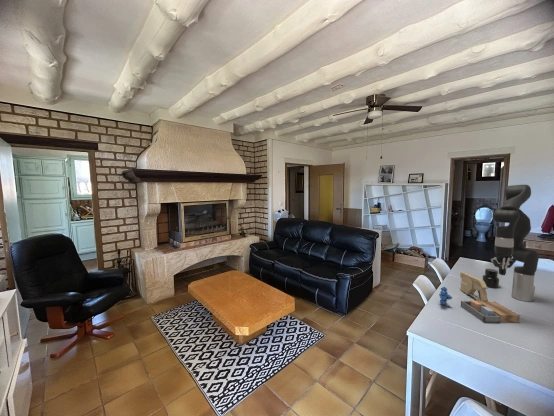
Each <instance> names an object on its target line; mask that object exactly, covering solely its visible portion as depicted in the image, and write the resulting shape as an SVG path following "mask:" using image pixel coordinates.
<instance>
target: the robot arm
mask: <svg viewBox="0 0 554 416" xmlns="http://www.w3.org/2000/svg"><path fill="white" fill-rule="evenodd" d="M504 196H505V200H506V201H505V202H504V203H503V204H502V206H500V207H498V208H496V209H495V210H494V212H493V213H492V219H493V221H495V222H497V223H506V224H508V225H504V226H502V225H501V226H497V227H496V230H495V239H494V253H495V254H494V257H493V258H489V260H490V262H491V263H492V264H493V266H494V267H495V268H498V274H499V275H501V276H506V275H507V269H510V268H512V266H513V265H514V264H515V263H516V262H520V263H523V265H522V266H515V267H514V268H513V278H512V288H511V297H512V298H514V299H516V300H517V301H518V300H519V301H522V302H527V303H528V302H530V303H531V302H534V298H535V290H536V286H535V275H536V272H537V270H538V269H537V268H538V263H539V260H540V259H539V253H538V251H536V250H533V249H528V248H525V247H524V240H525V239H526V237H527V236H528V235H529V233H530V232H531V230H532V226H531V225H532V223H531V220H530V217H529V216H528V215H527V214H526V213H525V212H523V210H521V206H522V205H523V204H524V203H526V202H527V201H528V200H529V199H530V197H531V196H532V189H531V187H530V185H528V184H513V185H512V184H511V185H507V186H506V187H505V188H504Z"/></svg>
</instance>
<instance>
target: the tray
mask: <svg viewBox="0 0 554 416" xmlns="http://www.w3.org/2000/svg"><path fill="white" fill-rule="evenodd" d="M471 301H472V300H460V308H462V309H464V310H465V311H467V312H468V313H470V315H472V316H474V317H475V318H476V319H478V320H480V321H481V322H482V323H488V324H500V323H501V322H500V318H501V317H500V316H498V315H497V314H495V313H494V316H484V315H483V314H481V312H478V311H477V310H475V309H474V308H472V307H471V306H470V304H471ZM482 307H484V306H482Z"/></svg>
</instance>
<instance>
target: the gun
mask: <svg viewBox="0 0 554 416" xmlns="http://www.w3.org/2000/svg"><path fill="white" fill-rule="evenodd" d="M459 278H461V281H460V288H459V290H460V291H461V292H463V293H464V294H466V295H468V296H470V297H472V298H473V299H475V301H477V302H478V301H486V302H489V301H488V300H489V299H488V293H487V289H488V287H487V286H486V284H485V282H484V281H483V279H481V278H478V277H476V276H474V275H471V274H469V273H466V272H465V271H460V273H459ZM476 291H477V294H478V296H477V295H475V293H476Z"/></svg>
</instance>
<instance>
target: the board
mask: <svg viewBox="0 0 554 416" xmlns="http://www.w3.org/2000/svg"><path fill="white" fill-rule="evenodd" d="M478 302H479V303H481V304H482V306H484V307H488V308H490V309H492V310H493V311H494V313H495V314H497V315H498V316H500V317H501V318H500V323H520V314H518V313H516V312H514V311H513V310H510V309H509V308H508V307H505V306H504V305H501V304H500V303H498V302H496V301H488V302H486V301H478Z"/></svg>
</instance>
